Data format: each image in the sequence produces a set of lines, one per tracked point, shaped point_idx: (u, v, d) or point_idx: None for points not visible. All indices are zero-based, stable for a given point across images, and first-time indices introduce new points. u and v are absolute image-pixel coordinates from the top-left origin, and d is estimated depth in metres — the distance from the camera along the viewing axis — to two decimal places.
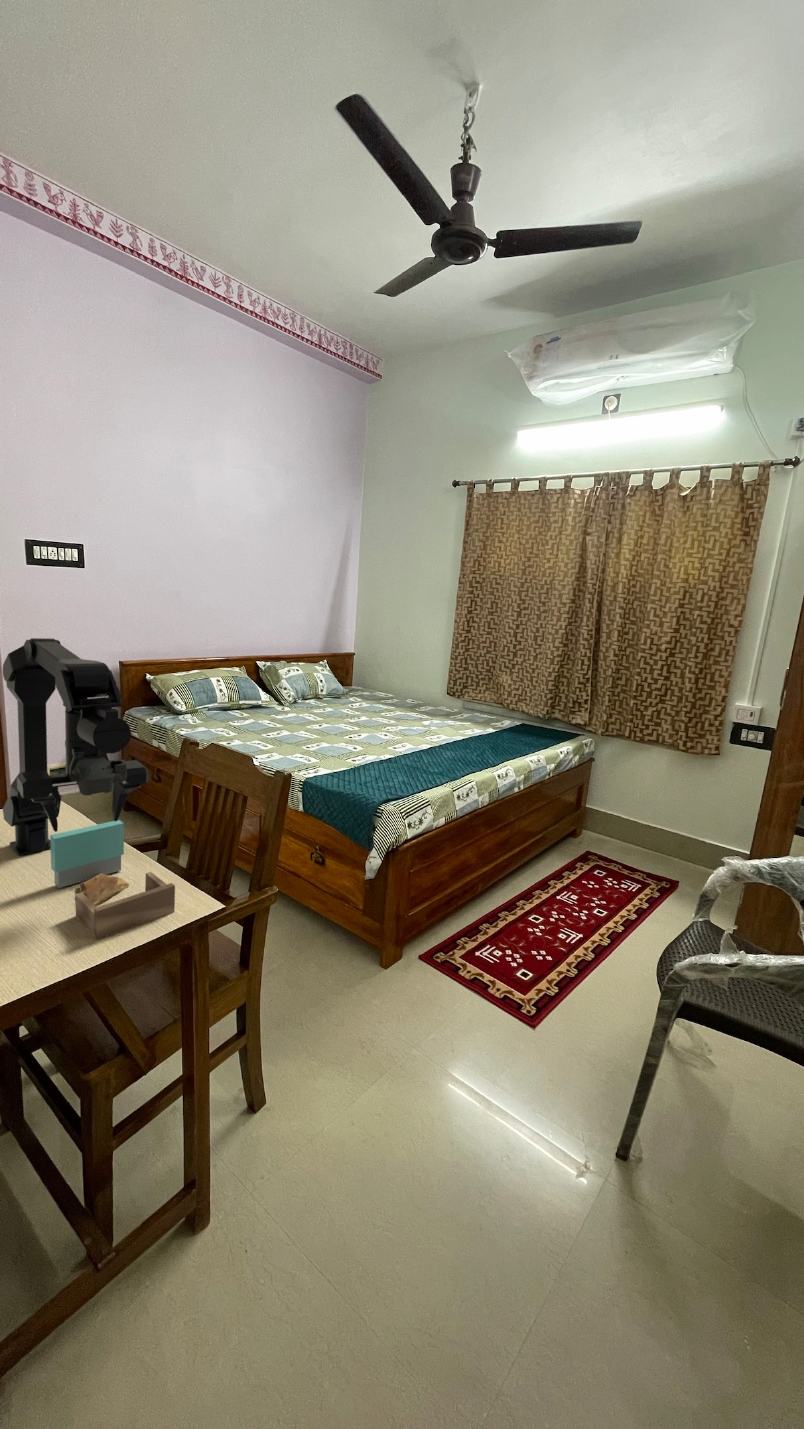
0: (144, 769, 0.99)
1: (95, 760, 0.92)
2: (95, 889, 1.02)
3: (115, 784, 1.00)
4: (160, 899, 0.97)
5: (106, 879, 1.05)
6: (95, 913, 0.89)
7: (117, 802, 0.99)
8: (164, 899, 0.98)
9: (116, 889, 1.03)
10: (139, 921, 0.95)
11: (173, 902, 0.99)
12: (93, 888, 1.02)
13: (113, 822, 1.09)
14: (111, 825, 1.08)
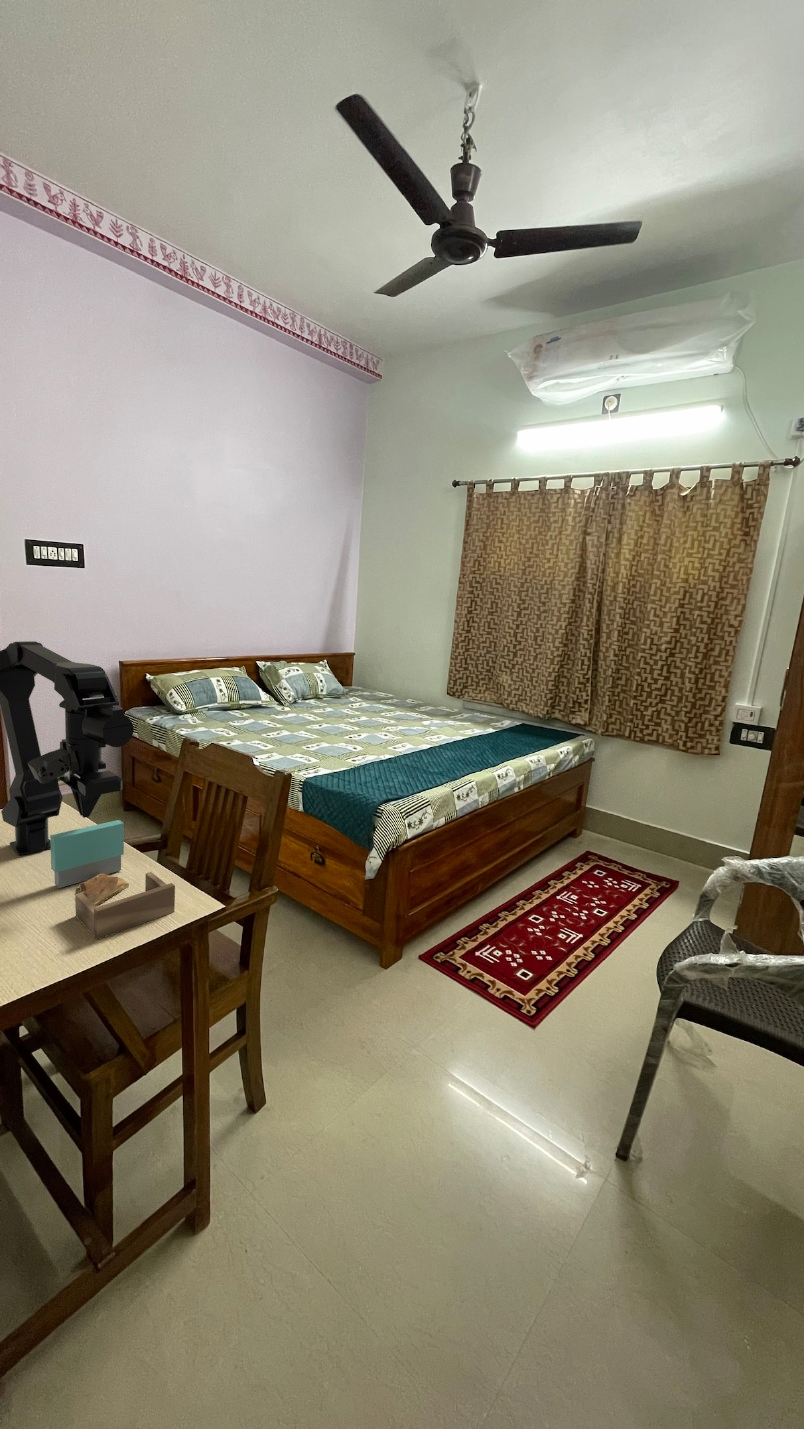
0: (88, 781, 0.97)
1: (61, 753, 1.00)
2: (96, 889, 1.02)
3: None
4: (160, 899, 0.97)
5: (106, 879, 1.05)
6: (95, 913, 0.89)
7: None
8: (164, 899, 0.98)
9: (116, 889, 1.03)
10: (139, 921, 0.95)
11: (173, 902, 0.99)
12: (93, 888, 1.02)
13: (113, 822, 1.09)
14: (111, 825, 1.08)
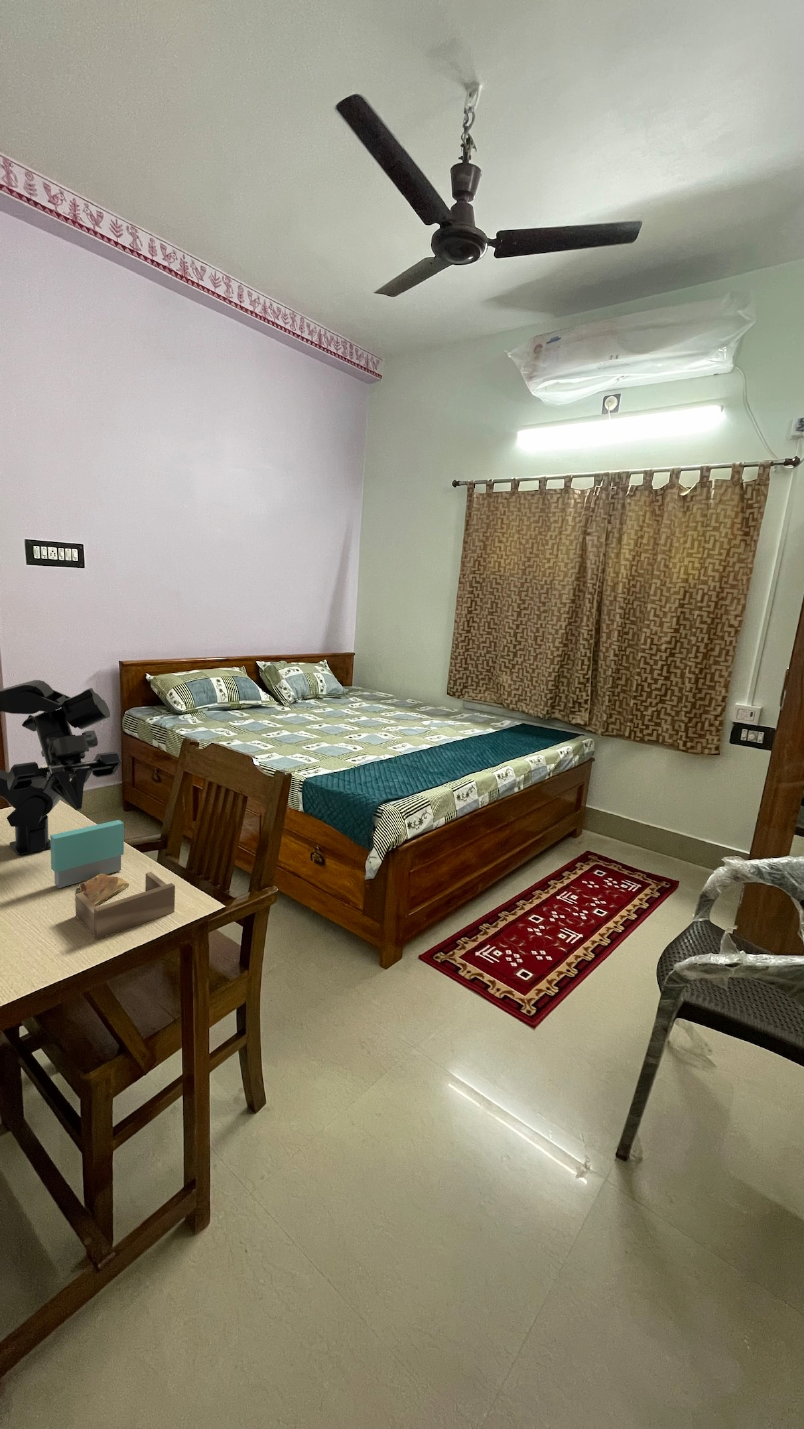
0: (114, 752, 1.15)
1: None
2: (96, 889, 1.02)
3: (71, 783, 1.11)
4: (160, 899, 0.97)
5: (106, 879, 1.05)
6: (95, 913, 0.89)
7: (76, 789, 1.08)
8: (164, 899, 0.98)
9: (116, 889, 1.03)
10: (139, 921, 0.95)
11: (173, 902, 0.99)
12: (94, 888, 1.02)
13: (113, 822, 1.09)
14: (111, 825, 1.08)
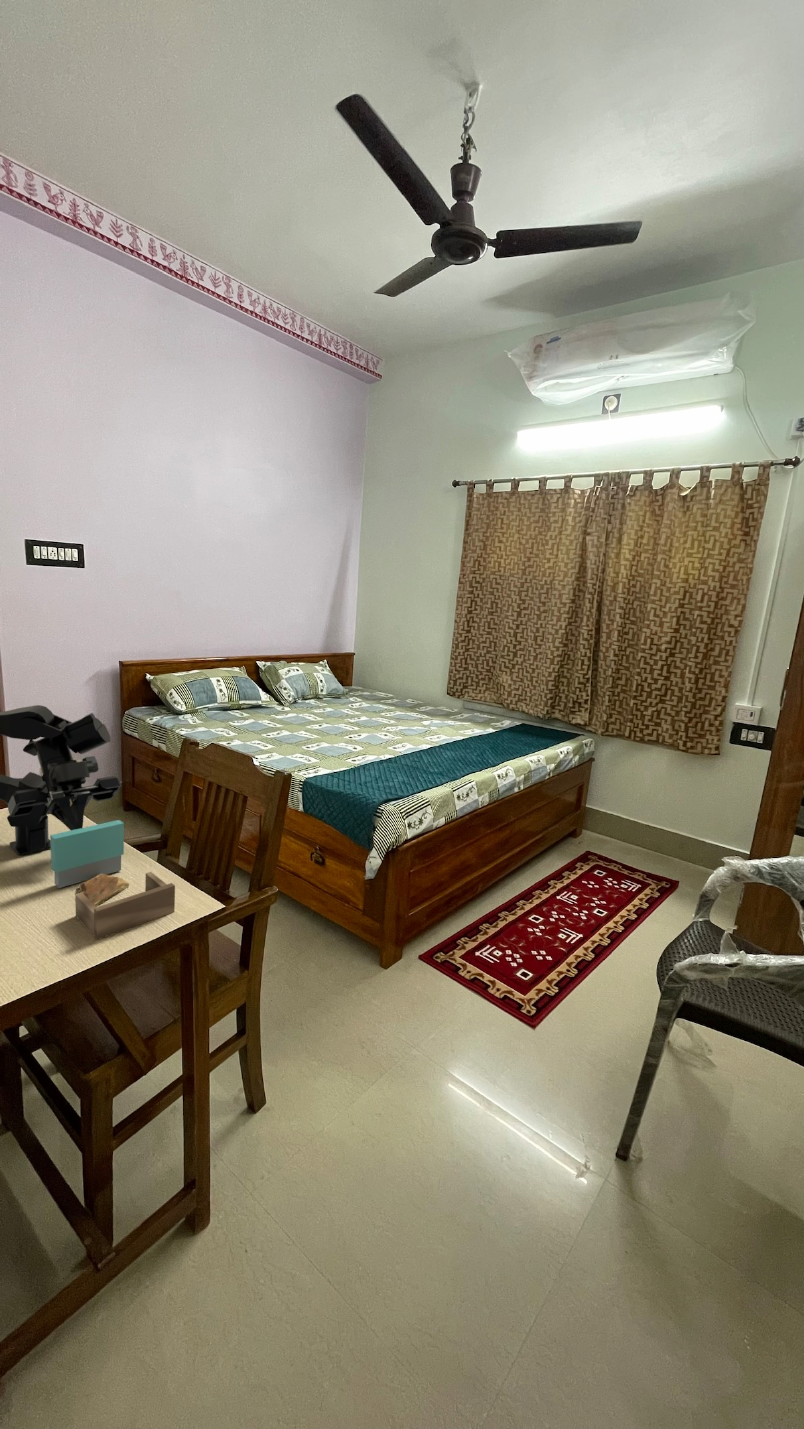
0: (114, 776, 1.17)
1: None
2: (96, 889, 1.02)
3: (72, 808, 1.12)
4: (160, 899, 0.97)
5: (106, 879, 1.05)
6: (95, 913, 0.89)
7: (77, 815, 1.09)
8: (164, 899, 0.98)
9: (116, 889, 1.03)
10: (139, 921, 0.95)
11: (173, 902, 0.99)
12: (94, 888, 1.02)
13: (113, 822, 1.09)
14: (111, 825, 1.08)
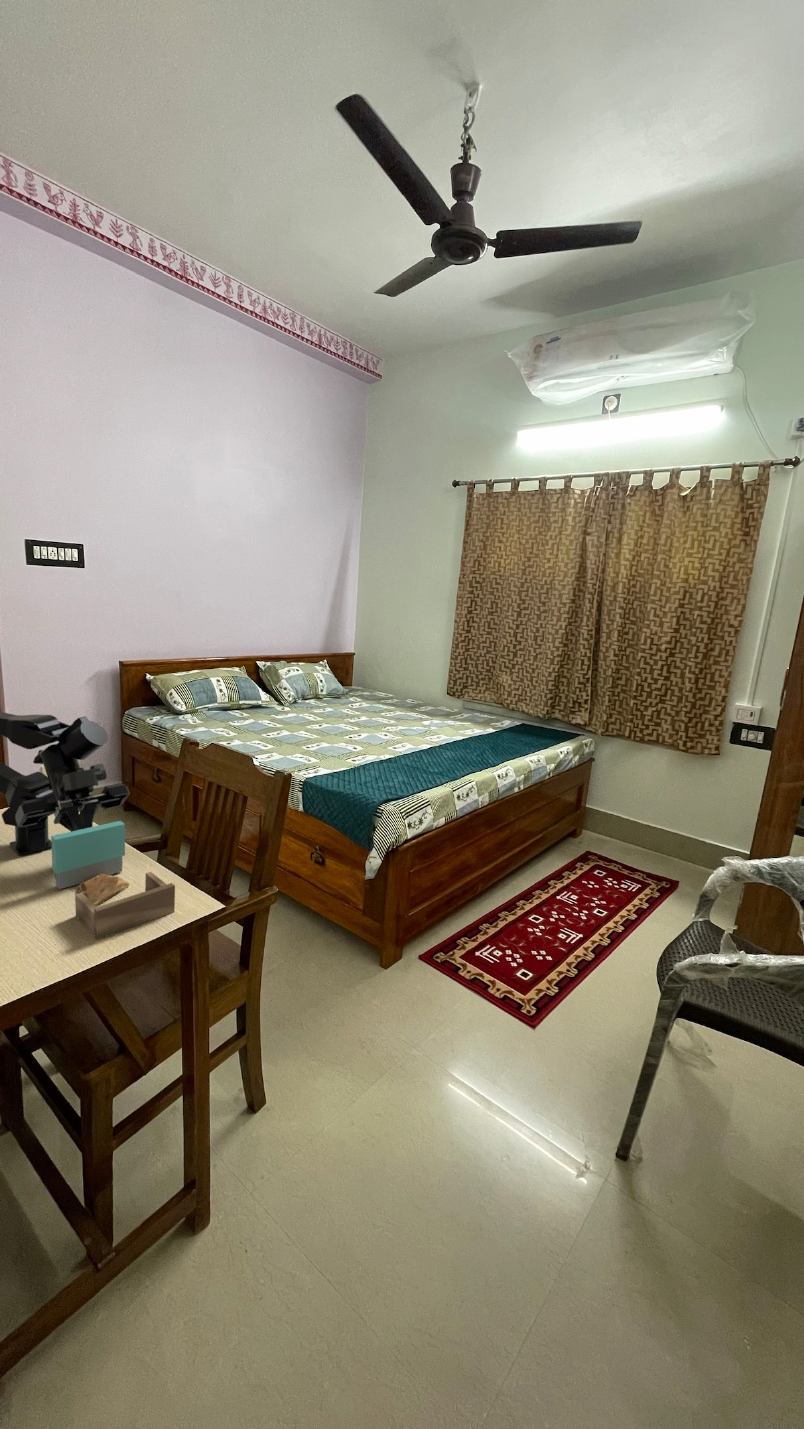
0: (122, 784, 1.15)
1: None
2: (96, 889, 1.02)
3: (80, 817, 1.10)
4: (160, 899, 0.97)
5: (106, 879, 1.05)
6: (95, 913, 0.89)
7: (85, 824, 1.08)
8: (164, 899, 0.98)
9: (116, 889, 1.03)
10: (139, 921, 0.95)
11: (173, 902, 0.99)
12: (94, 888, 1.02)
13: (114, 823, 1.09)
14: (112, 826, 1.08)
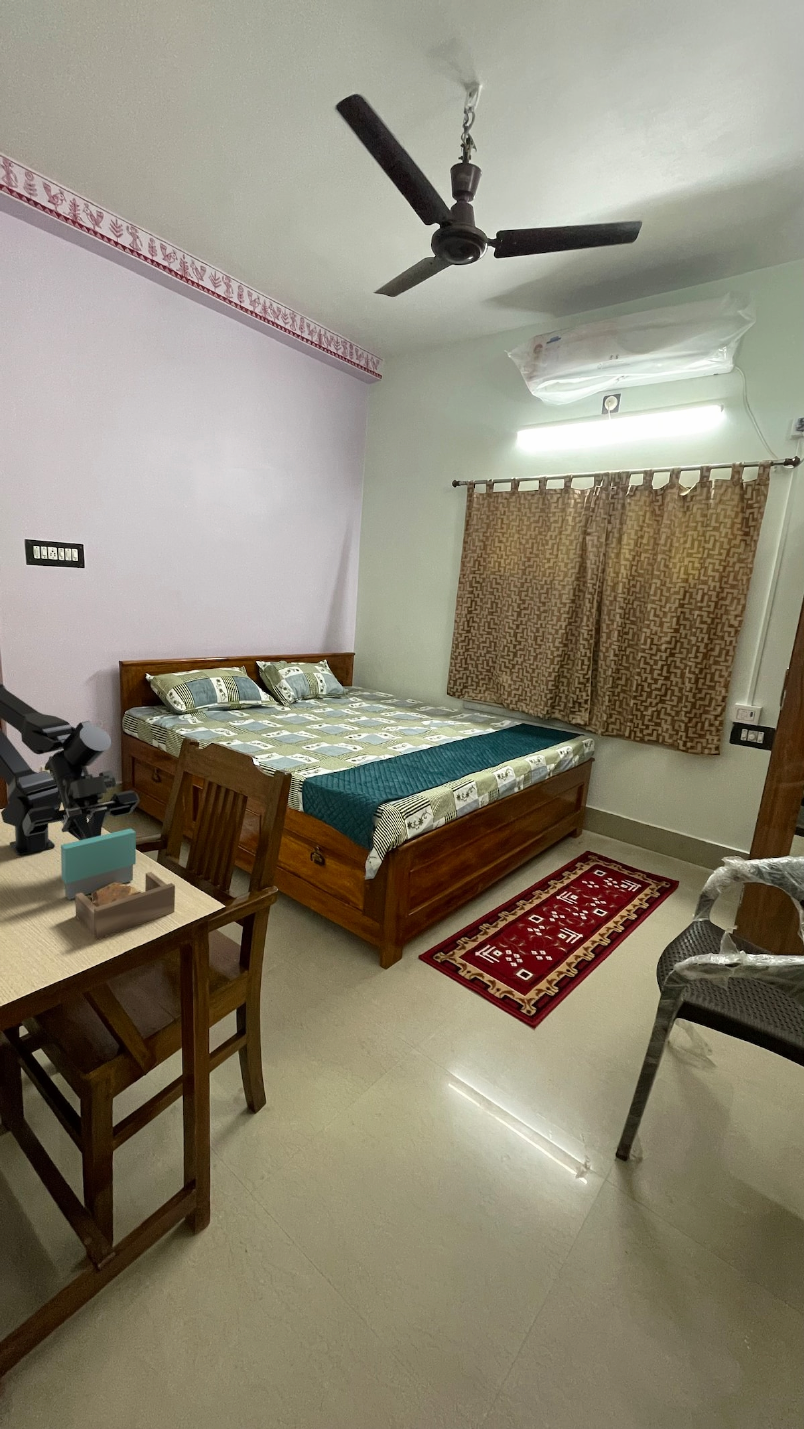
0: (132, 791, 1.12)
1: None
2: (107, 898, 0.99)
3: (88, 825, 1.07)
4: (160, 899, 0.97)
5: (119, 888, 1.03)
6: (95, 913, 0.89)
7: (94, 832, 1.05)
8: (164, 899, 0.98)
9: None
10: (139, 921, 0.95)
11: (173, 902, 0.99)
12: (105, 897, 1.00)
13: (124, 831, 1.06)
14: (123, 834, 1.05)
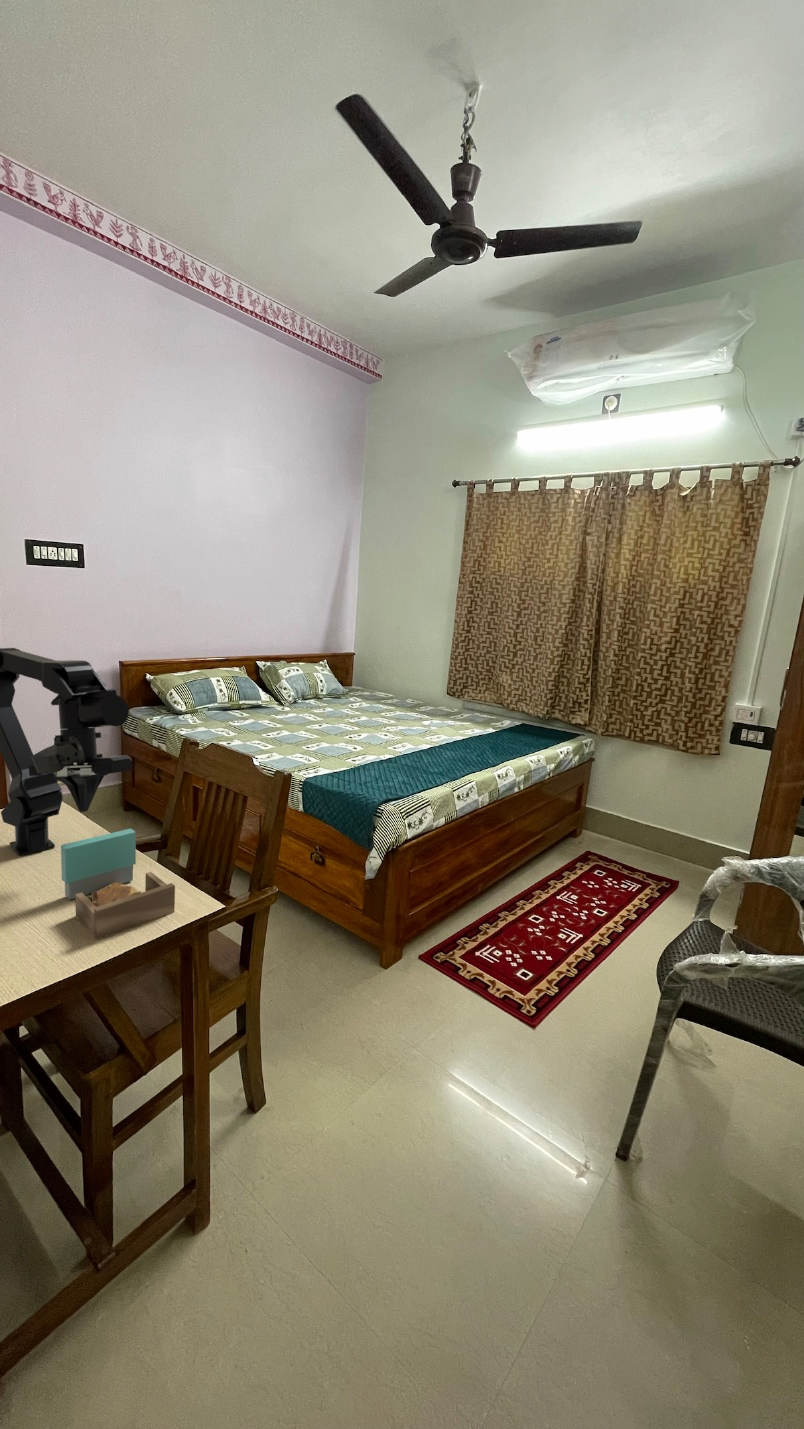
0: (107, 760, 1.01)
1: (63, 744, 1.02)
2: (107, 898, 0.99)
3: (90, 777, 1.07)
4: (160, 899, 0.97)
5: (119, 888, 1.03)
6: (95, 913, 0.89)
7: None
8: (164, 899, 0.98)
9: None
10: (139, 921, 0.95)
11: (173, 902, 0.99)
12: (105, 897, 1.00)
13: (124, 831, 1.06)
14: (123, 834, 1.05)
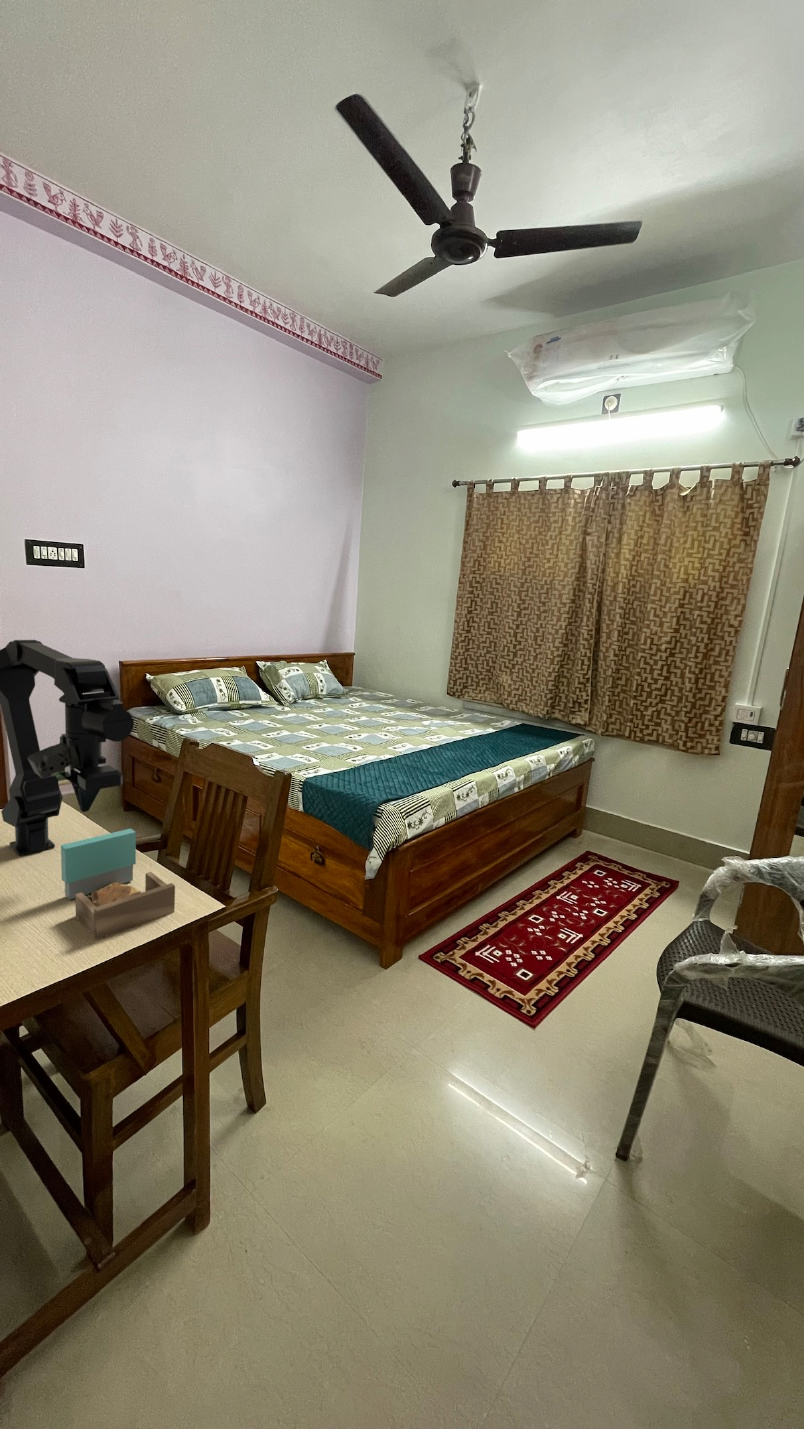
0: (88, 776, 0.97)
1: (60, 748, 1.00)
2: (108, 898, 0.99)
3: None
4: (160, 899, 0.97)
5: (119, 888, 1.03)
6: (95, 913, 0.89)
7: None
8: (164, 899, 0.98)
9: None
10: (139, 921, 0.95)
11: (173, 902, 0.99)
12: (106, 897, 1.00)
13: (124, 831, 1.06)
14: (123, 834, 1.05)
